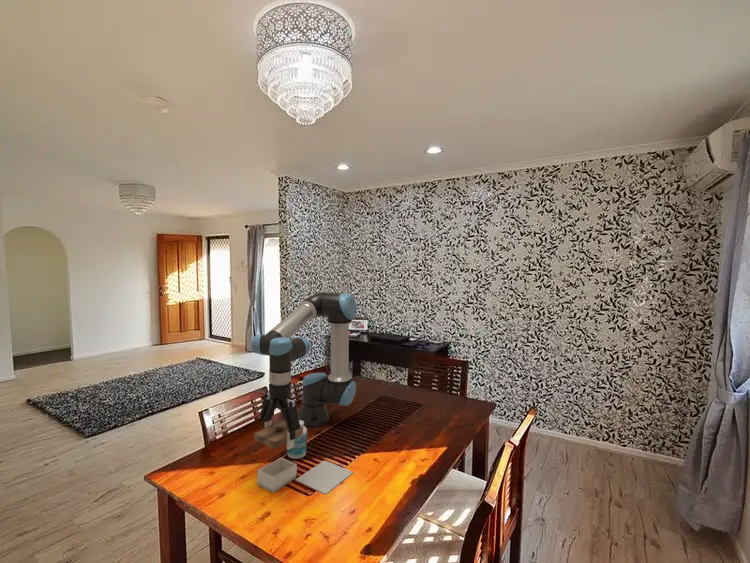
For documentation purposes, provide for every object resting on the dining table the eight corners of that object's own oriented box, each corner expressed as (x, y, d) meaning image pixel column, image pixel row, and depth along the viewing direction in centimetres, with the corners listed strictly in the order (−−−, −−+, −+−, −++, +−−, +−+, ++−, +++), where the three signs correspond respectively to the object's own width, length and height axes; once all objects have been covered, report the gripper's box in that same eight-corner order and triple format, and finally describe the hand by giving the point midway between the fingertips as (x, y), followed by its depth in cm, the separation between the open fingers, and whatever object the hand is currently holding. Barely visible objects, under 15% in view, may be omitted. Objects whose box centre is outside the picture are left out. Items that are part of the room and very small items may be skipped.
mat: (295, 480, 129) (295, 479, 129) (324, 461, 142) (324, 460, 142) (325, 494, 122) (325, 493, 121) (353, 473, 135) (353, 471, 135)
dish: (257, 484, 126) (257, 470, 125) (280, 470, 135) (281, 457, 135) (273, 493, 121) (273, 478, 121) (296, 477, 131) (296, 464, 131)
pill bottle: (290, 461, 141) (291, 427, 141) (285, 452, 148) (286, 420, 147) (308, 457, 145) (309, 424, 144) (303, 449, 151) (304, 417, 151)
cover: (254, 440, 125) (254, 430, 125) (282, 426, 136) (282, 417, 136) (275, 449, 120) (275, 439, 119) (302, 434, 131) (303, 425, 130)
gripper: (249, 378, 130) (248, 438, 131) (296, 392, 118) (294, 458, 119) (266, 373, 136) (265, 430, 137) (311, 386, 124) (310, 448, 125)
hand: (278, 443), depth 128 cm, fingers closed on cover, 10 cm apart
